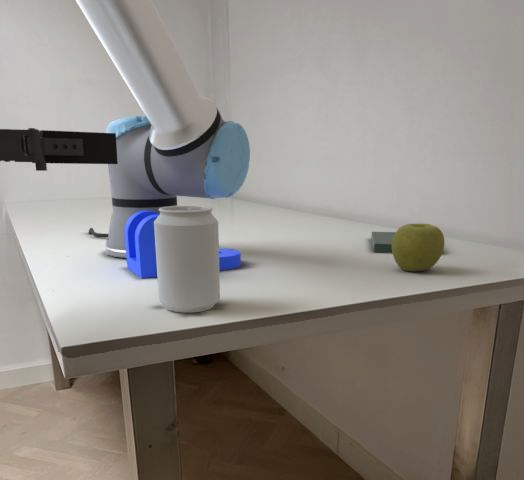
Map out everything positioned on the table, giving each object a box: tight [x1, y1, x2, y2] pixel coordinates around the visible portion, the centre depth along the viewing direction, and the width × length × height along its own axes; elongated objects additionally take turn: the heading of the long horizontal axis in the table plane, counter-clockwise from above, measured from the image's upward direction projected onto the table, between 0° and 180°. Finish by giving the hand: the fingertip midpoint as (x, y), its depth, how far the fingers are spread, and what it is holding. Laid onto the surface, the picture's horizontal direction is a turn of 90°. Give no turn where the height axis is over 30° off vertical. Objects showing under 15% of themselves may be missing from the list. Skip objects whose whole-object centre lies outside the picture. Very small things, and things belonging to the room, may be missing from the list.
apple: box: [392, 223, 445, 272], centre depth 87 cm, size 8×8×7 cm
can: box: [154, 205, 221, 314], centre depth 66 cm, size 8×8×12 cm
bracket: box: [124, 210, 242, 279], centre depth 89 cm, size 18×8×9 cm, turn 117°
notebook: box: [370, 231, 396, 254], centre depth 110 cm, size 12×16×2 cm
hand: (94, 149), depth 57 cm, fingers open, 13 cm apart
